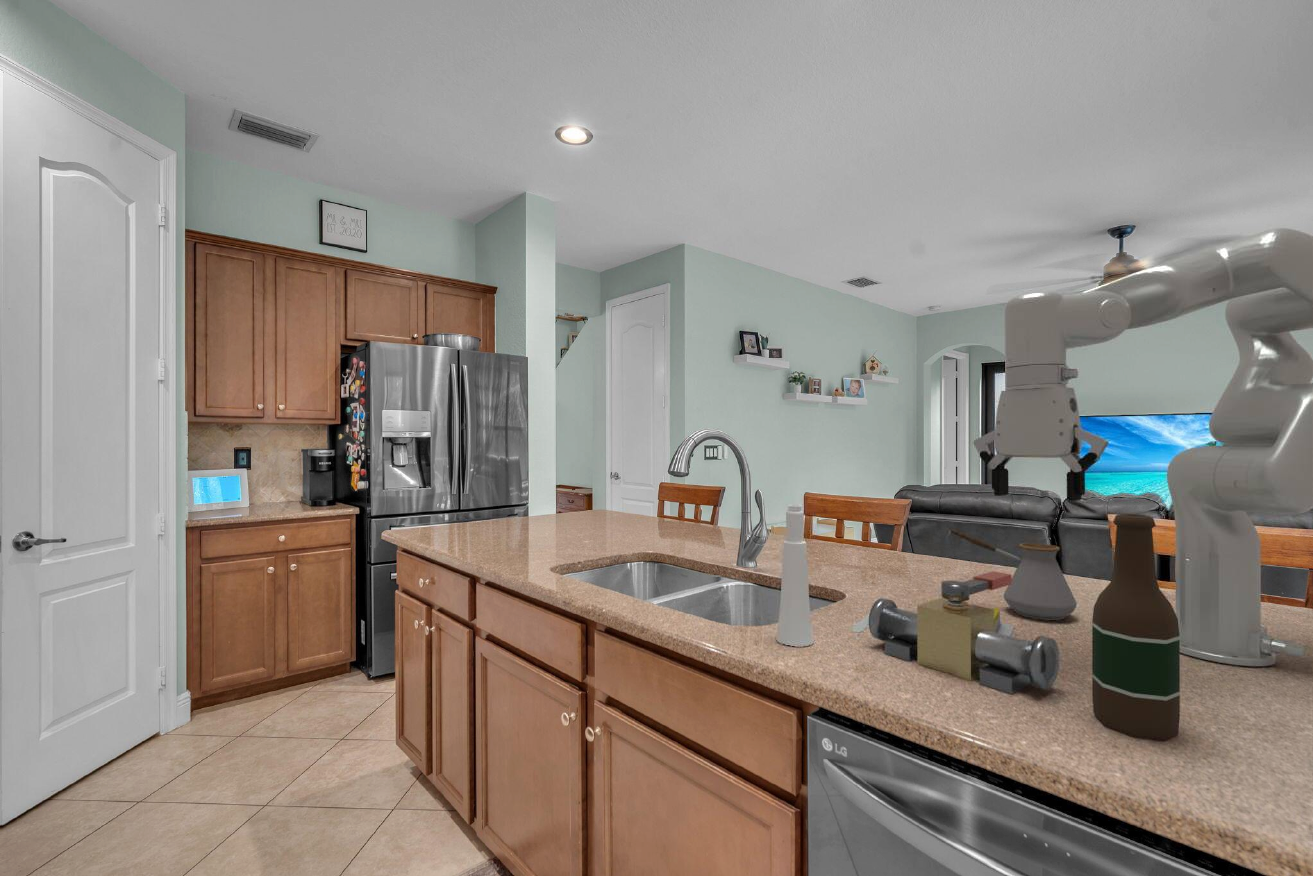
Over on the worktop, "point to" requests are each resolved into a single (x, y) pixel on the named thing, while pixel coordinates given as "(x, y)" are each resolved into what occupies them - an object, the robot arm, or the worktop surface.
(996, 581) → the lever
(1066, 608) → the coffee pot
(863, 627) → the butter knife
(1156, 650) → the beer bottle
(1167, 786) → the worktop surface
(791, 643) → the cosmetic bottle
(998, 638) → the valve
